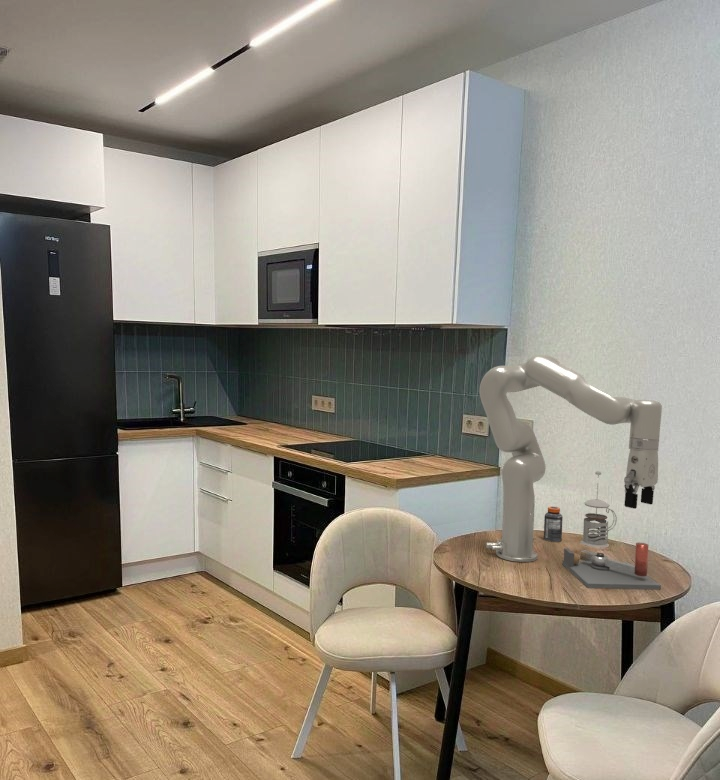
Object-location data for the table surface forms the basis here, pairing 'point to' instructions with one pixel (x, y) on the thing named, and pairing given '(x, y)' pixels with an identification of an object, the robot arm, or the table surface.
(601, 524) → the french press
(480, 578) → the table surface
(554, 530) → the pill bottle
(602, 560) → the lever
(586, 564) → the base
